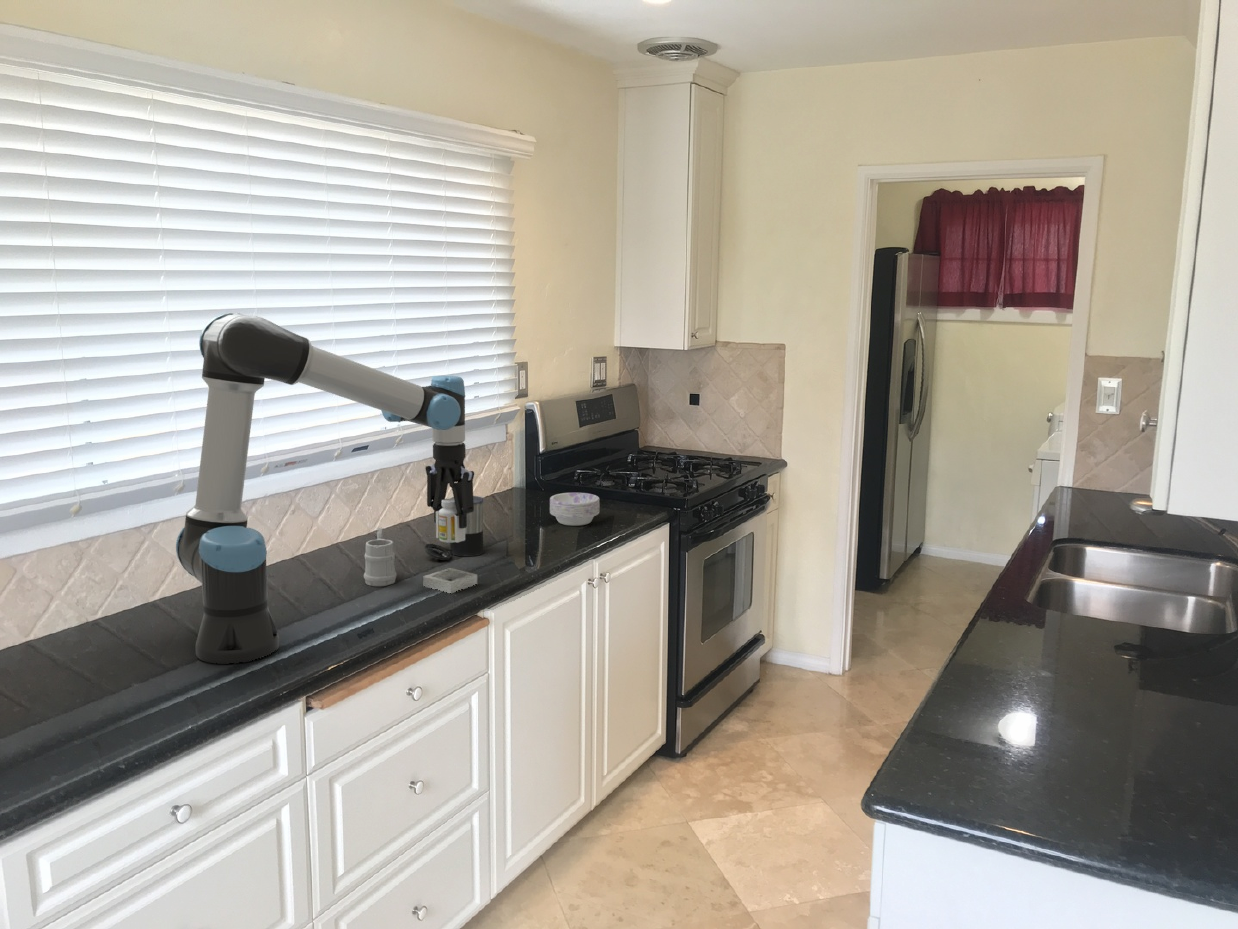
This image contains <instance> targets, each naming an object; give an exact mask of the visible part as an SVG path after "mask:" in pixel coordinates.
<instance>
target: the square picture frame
mask: <svg viewBox="0 0 1238 929" xmlns="http://www.w3.org/2000/svg"><path fill="white" fill-rule="evenodd" d="M422 581H423V582H422V584H423V585H422V586H423V587H424V586H425V587H424V588H428V589H431V588H432V589H431V590H435V589H438V590H437V591H439V590H440V591H439V592H443V591H444V593H446V592H447V594H450V593H451V594H455V593H456V591H457V592H459V591H458V590H460V591H462V590H461V589H463V590H465V589H468V587H469V588H471V587H474V586H476V585H475V584H477V585H478V574H477V573H473V572H469V571H464V570H460V569H456V568H452V567H447V568H445V569H442V570H438V571H436V572H433V573H429V574H426V575H423V576H422ZM473 585H474V586H473Z"/></svg>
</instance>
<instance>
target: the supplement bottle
mask: <svg viewBox="0 0 1238 929" xmlns="http://www.w3.org/2000/svg"><path fill="white" fill-rule="evenodd" d="M441 505H442V507H443V508H442V509H440V510H439V539H438V540H439V542H442V543H447V544H448V543H452V542H455V514H457V510H456V505H455V501H454V499H452V497H450V498H445V499H443V500H442V504H441Z"/></svg>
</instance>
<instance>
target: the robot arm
mask: <svg viewBox="0 0 1238 929" xmlns="http://www.w3.org/2000/svg"><path fill="white" fill-rule="evenodd" d="M199 351H200V354H201V356H202V358H203V361H202V362H203V364H202V373H201V378H202V380H203V381H204V382H205V384H206V385H207V387H208V392H207V400H206V402H207V403H206V412H205V418H204V428H203V437H202V444H201V454H200V462H199V470H198V471H199V473H198V478H197V479H198V480H197V486H196V487H197V489H196V497H195V505H194V506H193V507H191V508H190V509H189V510H188V511H186V514H185V520H184V527H183V528H182V529H181V530H180V532H179V533H178V536H177V538H176V543H175V552H176V555H177V558H178V561H179V563H180V564H181V567H182V568H183V569H184V570H185V571H186V572H187V573H188V574H189V575H190V576H192V577H194V578H195V579H196V580H197V581H199V583H200V584H201V590H202V591H201V592H202V607H203V608H202V610H203V616H202V619H201V623H200V626H199V630H198V634H197V638H196V640H195V656H196V658H197V659H199V660H200V661H203V662H206V663H209V664H216V663H217V664H219V665H226V664H227V665H230V664H229V663H234V664H240V663H239V662H243V663H247V662H252V660H253V661H256V660H255V659H257V660H259V659H258V658H260V657H262V656H266V657H268V656H270V655H272V654H273V653H272V652H274V651H275V650H276V651H277V650H279V648H280V635H279V631H278V629H277V626H276V624H275V622H274V619H273V617H272V615H271V612H270V610H269V597H268V595H269V594H268V575H267V570H268V568H267V554H268V553H267V546H266V541H265V537H264V536H263V534H262V533H261V532H260V531H258V530H257V529H254V528H253V527H248V518H249V517H248V516H247V514H246V513H245V512H244V511H243V510H242V504H243V495H244V486H245V478H246V470H247V462H248V455H249V454H248V453H249V446H250V445H249V444H250V436H251V427H252V420H253V419H252V418H253V411H254V403H255V394H256V393H257V391H258V392H259V390H260V389H262V388H263V387H264V386H265V379H267V380H273V381H277V382H281V383H284V384H287V385H290V386H293V385H296V384H298V383H300V384H303V385H306V386H309V387H311V388H315V389H317V390H320V391H323V392H325V393H330V394H331V395H332V394H333V395H335V396H339V397H341V398H344V399H348V400H349V401H354V402H355V403H358V404H362V405H365V406H368V407H371V408H373V409H377V410H379V411H381V414H382V416H383V418H384V419H385V420H386V421H387V422H390V423H395V422H396V423H401V422H409V423H412V424H413V423H414V424H418V425H421V426H425V427H429V428H432V441H433V442H434V443H433V444H432V459H433V460H435V461H434V463H433V464H431V465H426V466H425V472H426V482H427V483H426V505H427V507H429V508H430V507H431V508H432V510H433V519H434V520H433V521H434V524H435V538H436V539H438V538H439V510H440V509H442V508H443V507H442V505H441V504H442V500H443V499H446V497H447V490H448V486H449V488H451V491H452V497H454V501H455V505H456V510H457V514H455V542H457V543H458V542H461V541H464V540H465V528H466V527H467V514H468V513H471V512H473V511H474V502H473V496H474V483H473V482H474V478H475V471H473V470H470V471H469V470H468V469H466V466H465V464H464V461H465V459H466V451H467V450H466V443H465V441H466V390H465V387H466V386H465V382H464V379H463V378H462V377H461V376H459V375H438V376H435V375H434V376H432V378H431V382H430V385H426V386H421V385H418V384H416V383H413V382H410V381H407V380H405V379H402V378H399V377H397V376H394V375H391V374H389V373H387V372H383V371H381V370H378V369H375V368H372V367H370V366H368V365H364V364H362V363H359V362H356V361H354V360H351V359H348V358H346V357H344V356H340V355H337V354H335V353H332V352H329V351H327V350H325V349H321V348H320V347H316V346H313V345H312V342H311V340H310V339H309V338H307V337H305V336H302V335H299V334H297V333H295V332H292V331H290V330H288V329H287V328H284V327H281V326H280V325H278V324H276V323H274V322H272V321H270V320H268V319H266V318H263V317H261V316H258V315H249V314H248V315H247V314H242V313H240V312H239V313H238V312H237V313H236V312H230V313H224V314H222V315H219V316H216V317H214V318H212V319H210V320H209V321H208V322H207V323H206V325H205V326H204V327H203V329H202V331H200V336H199ZM276 651H275V652H276ZM275 652H274V653H275ZM271 653H272V654H271ZM269 654H270V655H269ZM267 655H268V656H267ZM260 659H261V658H260ZM217 664H216V665H217Z"/></svg>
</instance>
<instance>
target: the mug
mask: <svg viewBox="0 0 1238 929" xmlns="http://www.w3.org/2000/svg"><path fill="white" fill-rule="evenodd" d="M376 529H377V530H376V531H377V534H376V536H377V538H376V539H371V540H368V541H366V542H365V553H364V559H365V565H364V566H365V567H364V568H365V570H364V573H363V578H364V581H365V582H364V583H365V584H366V585H367V586H372V587H386V586H389V585H393V584H395V583H396V578H397V571H396V569H395V568H396V567H395V557H396V553H395V552H394V551H395V550H394V541H393V540H391V539H386V538H384V536H383V527H382V526H381V527H377V528H376Z"/></svg>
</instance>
